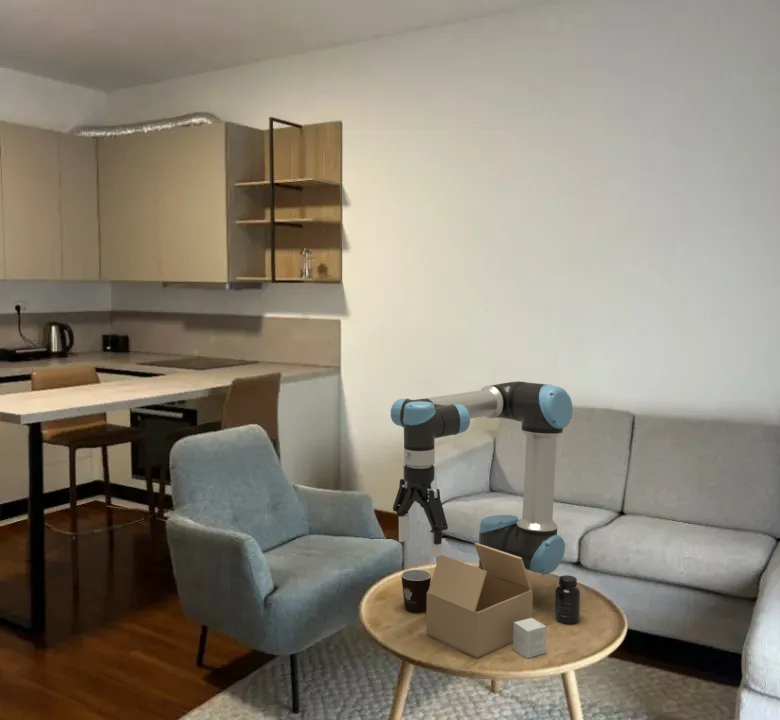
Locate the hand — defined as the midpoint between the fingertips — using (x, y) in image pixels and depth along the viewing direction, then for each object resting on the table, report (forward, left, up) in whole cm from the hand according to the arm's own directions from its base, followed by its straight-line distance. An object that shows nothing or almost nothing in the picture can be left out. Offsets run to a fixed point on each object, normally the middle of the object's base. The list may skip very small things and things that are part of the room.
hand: (419, 548), depth 200 cm
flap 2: (-29, +2, -11) cm, 31 cm away
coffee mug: (-19, -20, -28) cm, 39 cm away
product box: (-23, +17, -28) cm, 40 cm away
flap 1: (-11, +2, -11) cm, 16 cm away
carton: (-20, +2, -28) cm, 34 cm away
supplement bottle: (-46, +12, -28) cm, 55 cm away
